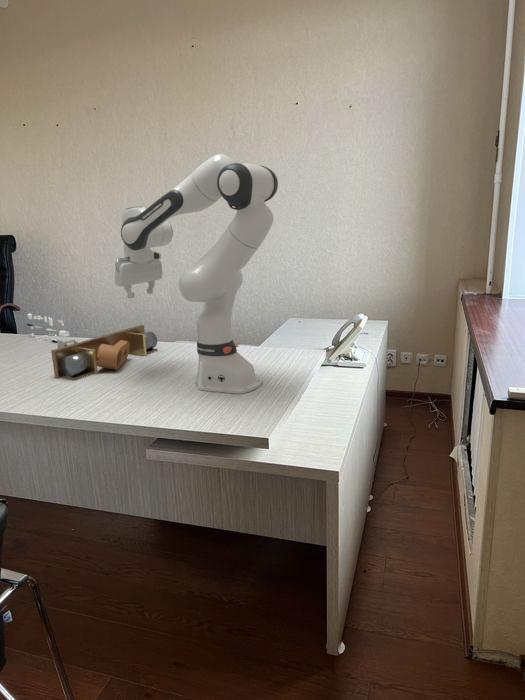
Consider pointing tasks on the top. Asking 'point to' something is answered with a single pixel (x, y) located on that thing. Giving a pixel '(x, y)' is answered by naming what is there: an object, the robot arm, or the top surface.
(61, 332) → the plumbing parts
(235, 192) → the robot arm
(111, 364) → the tan piece
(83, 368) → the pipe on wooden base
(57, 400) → the top surface
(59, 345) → the electrical component
